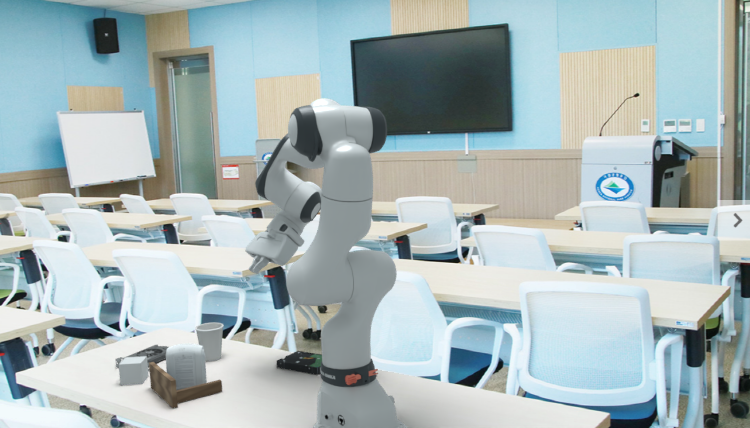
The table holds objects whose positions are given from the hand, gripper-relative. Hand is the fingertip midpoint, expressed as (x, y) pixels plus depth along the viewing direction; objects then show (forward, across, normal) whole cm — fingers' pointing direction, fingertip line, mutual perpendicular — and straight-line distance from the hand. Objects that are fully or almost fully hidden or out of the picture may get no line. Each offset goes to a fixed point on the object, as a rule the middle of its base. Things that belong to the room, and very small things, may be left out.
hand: (252, 271), depth 182 cm
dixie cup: (+24, -24, +18) cm, 38 cm away
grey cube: (+41, -20, +1) cm, 46 cm away
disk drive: (+11, +2, +31) cm, 33 cm away
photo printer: (+34, -3, +7) cm, 35 cm away
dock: (+34, -2, +7) cm, 35 cm away
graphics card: (+35, -34, +8) cm, 49 cm away
